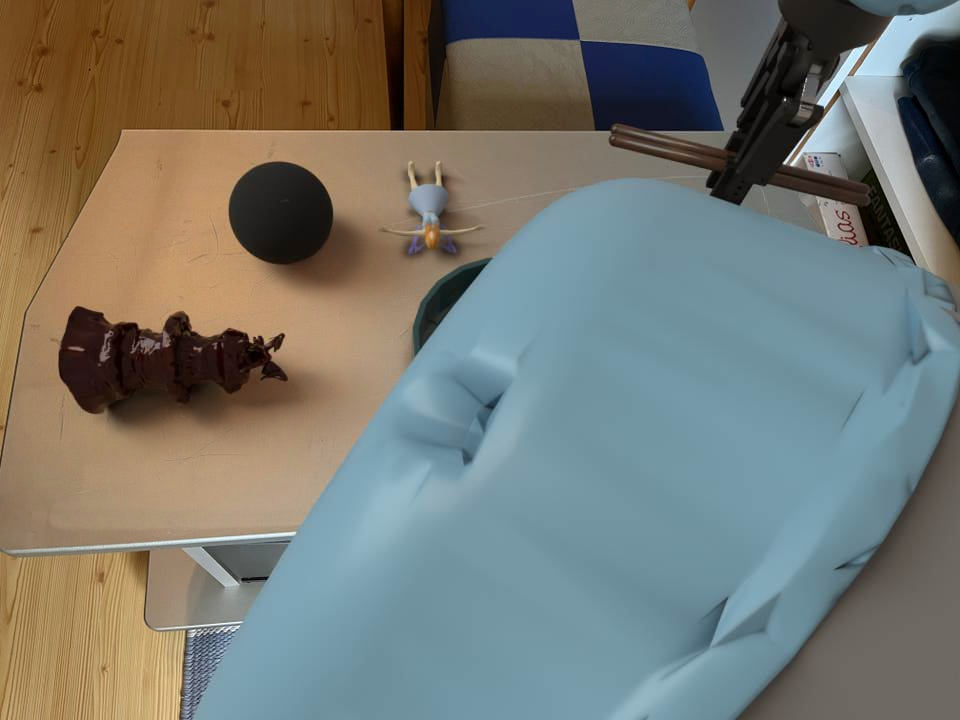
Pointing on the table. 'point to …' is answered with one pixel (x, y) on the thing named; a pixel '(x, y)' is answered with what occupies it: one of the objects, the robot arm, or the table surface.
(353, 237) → the table surface
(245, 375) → the figurine
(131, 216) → the table surface
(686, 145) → the chopsticks
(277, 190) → the speaker
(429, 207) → the fairy figurine
